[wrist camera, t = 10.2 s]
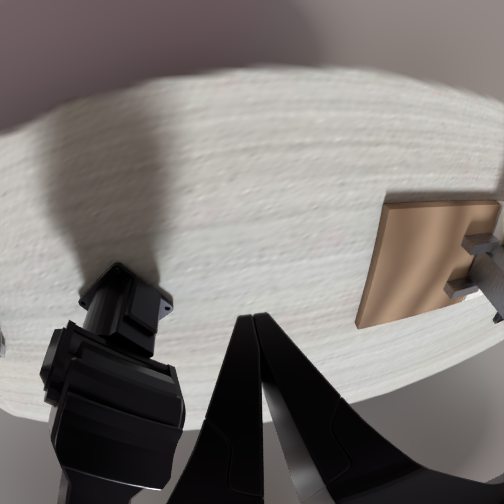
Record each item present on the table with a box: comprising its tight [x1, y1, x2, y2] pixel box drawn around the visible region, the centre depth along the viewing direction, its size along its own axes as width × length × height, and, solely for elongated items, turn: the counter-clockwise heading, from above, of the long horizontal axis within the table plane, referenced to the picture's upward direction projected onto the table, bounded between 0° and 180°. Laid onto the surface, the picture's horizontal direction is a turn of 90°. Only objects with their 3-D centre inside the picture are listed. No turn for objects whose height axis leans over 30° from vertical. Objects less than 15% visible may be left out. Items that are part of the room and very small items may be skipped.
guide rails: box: [443, 232, 500, 300], centre depth 26 cm, size 5×7×2 cm
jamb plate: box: [463, 201, 504, 301], centre depth 28 cm, size 9×14×1 cm, turn 2°
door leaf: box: [355, 200, 501, 329], centre depth 26 cm, size 16×14×1 cm
